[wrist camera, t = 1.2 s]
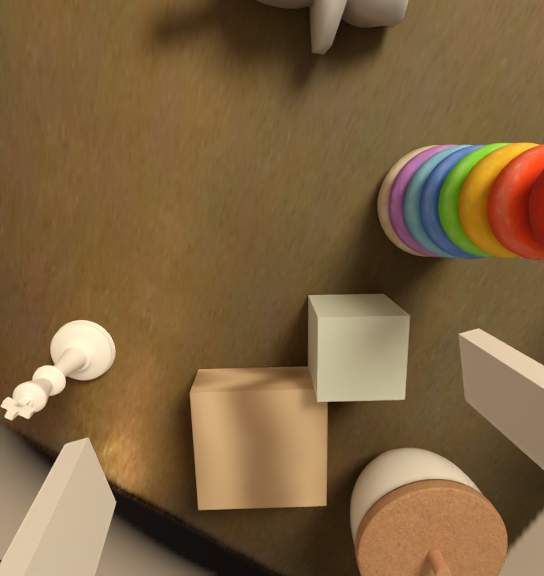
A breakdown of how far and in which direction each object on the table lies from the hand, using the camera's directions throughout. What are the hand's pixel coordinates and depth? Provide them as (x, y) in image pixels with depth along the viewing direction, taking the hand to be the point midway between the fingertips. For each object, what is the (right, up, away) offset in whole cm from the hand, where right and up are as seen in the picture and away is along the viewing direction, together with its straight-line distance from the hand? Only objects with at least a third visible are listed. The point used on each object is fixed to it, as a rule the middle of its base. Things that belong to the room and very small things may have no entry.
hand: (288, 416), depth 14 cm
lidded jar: (+11, -12, +22) cm, 28 cm away
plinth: (-1, -7, +20) cm, 22 cm away
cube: (+5, +1, +19) cm, 20 cm away
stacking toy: (+11, +11, +17) cm, 23 cm away
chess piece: (-16, 0, +19) cm, 25 cm away
